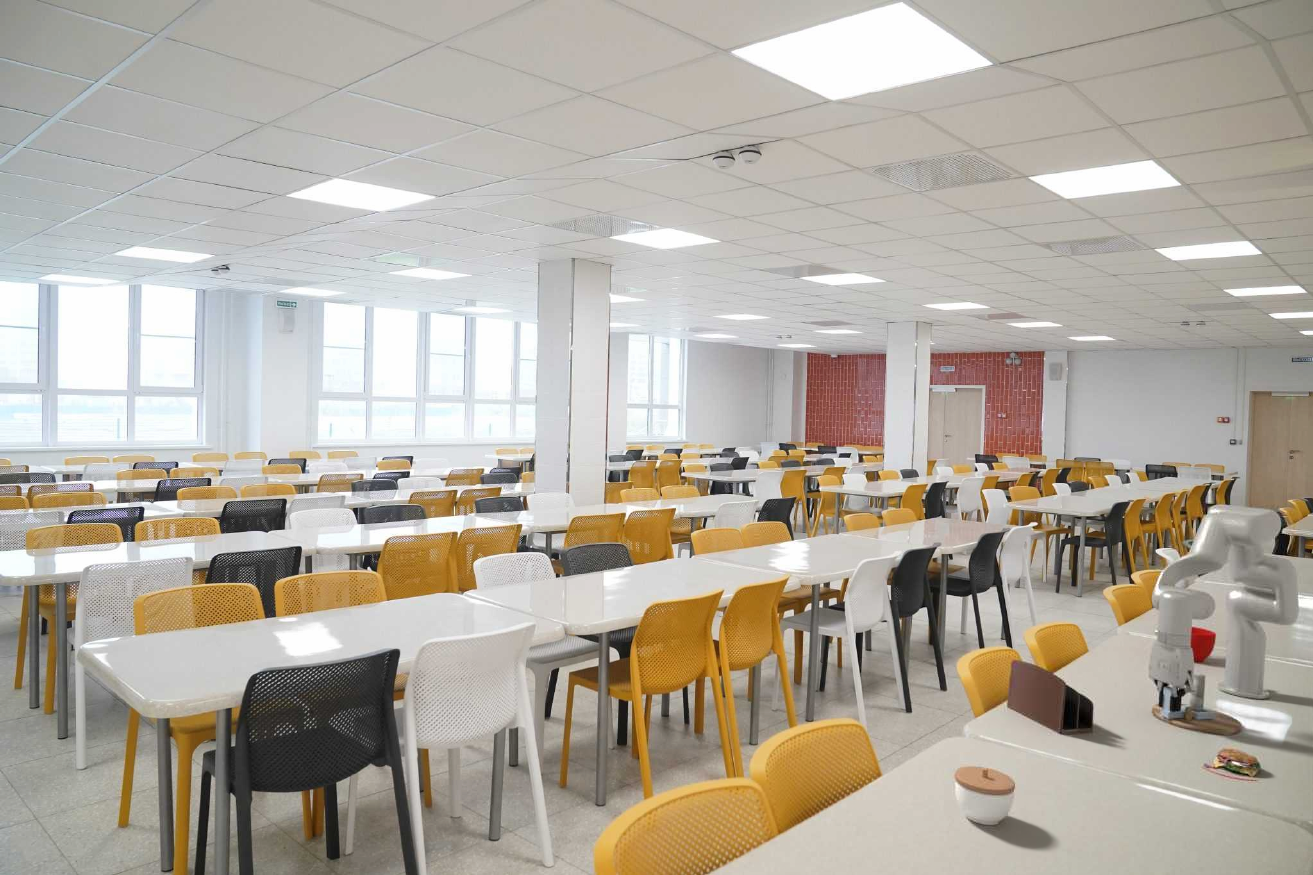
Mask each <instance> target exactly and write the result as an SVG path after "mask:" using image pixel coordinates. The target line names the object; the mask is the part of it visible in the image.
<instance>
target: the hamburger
mask: <svg viewBox="0 0 1313 875" xmlns="http://www.w3.org/2000/svg"><path fill="white" fill-rule="evenodd" d="M1219 767H1223V768H1225V769H1227V770H1230V771H1233V772H1236V773H1241V774H1248V775H1249V776H1250V777H1251V778H1253V777H1254V776H1255V775H1256V774H1257V773H1258V771H1259V770H1261V769H1262V766H1261V763H1260V762H1259V760H1258V758H1257V757H1256V756H1254V755H1251V754H1249V753H1246V752H1245V751H1241V750H1239V749H1234V748H1222V749H1220V750H1219V751H1218V752H1217V753H1216V757H1215V758H1214V760H1213V766H1211V765H1210V764H1207V763H1204V764H1203V766H1201V768H1202V769H1204V770H1205V771H1208V772H1210V773H1212V774H1215V775H1219V776H1221V777H1225V778H1229V779H1234V780H1239V781H1247V782H1257V781H1259V779H1245V778H1239V777H1234V776H1229V775H1225V774H1221V773H1219V772H1216V771H1213V770H1218V769H1219V770H1220V768H1219ZM1211 769H1213V770H1211Z"/></svg>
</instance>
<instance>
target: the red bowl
mask: <svg viewBox="0 0 1313 875" xmlns="http://www.w3.org/2000/svg"><path fill="white" fill-rule="evenodd" d="M1216 638H1217V634H1216V632H1215V631H1212V630H1209V629H1205V628H1201V627H1196V626H1192V630H1191V647H1190V648H1192V651H1193V657H1194V663H1203V662H1204V661H1205V660H1207V659H1208V658H1209V657H1210V655H1211V654H1212V652H1213V651H1214V648H1215V644H1216Z"/></svg>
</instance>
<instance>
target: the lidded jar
mask: <svg viewBox="0 0 1313 875" xmlns="http://www.w3.org/2000/svg"><path fill="white" fill-rule="evenodd" d="M1015 789H1016V783H1015V781H1014V779H1013V778H1012V777H1011V776H1009V775H1007V774H1005V773H1004V772H1001V771H998V770H995V769H993V768H988V767H983V766H974V765H969V766H962V767H959V768H957V769H956V770H955V772H954V792H955V798H956V802H957V804H958V806H959V808H960V809H961V811H962V812H963V814H965V817H966V818H967V819H968V820H970V821H971V822H974V823H976V824H979V825H982V826H983V825H984V826H995V825H998V824H1000V821H1003V820H1004V819H1005V818H1006V817H1007V816H1008V814H1009V813H1010V812H1011V809H1012V806H1013V803H1014V794H1015Z"/></svg>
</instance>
